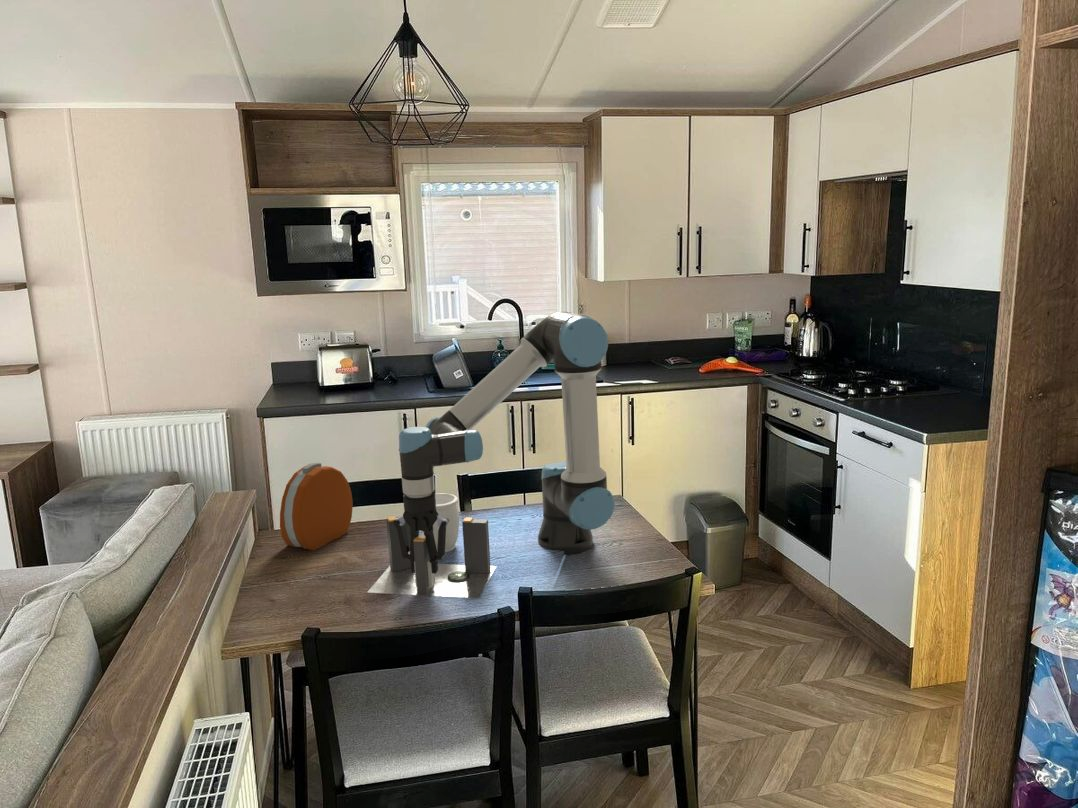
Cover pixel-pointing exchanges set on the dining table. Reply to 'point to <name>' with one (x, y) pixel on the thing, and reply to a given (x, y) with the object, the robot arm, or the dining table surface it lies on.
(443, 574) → the plate
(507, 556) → the dining table surface
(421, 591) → the grey standing slab
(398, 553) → the grey tall block
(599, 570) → the dining table surface
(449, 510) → the jar
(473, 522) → the grey tall block piece
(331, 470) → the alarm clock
